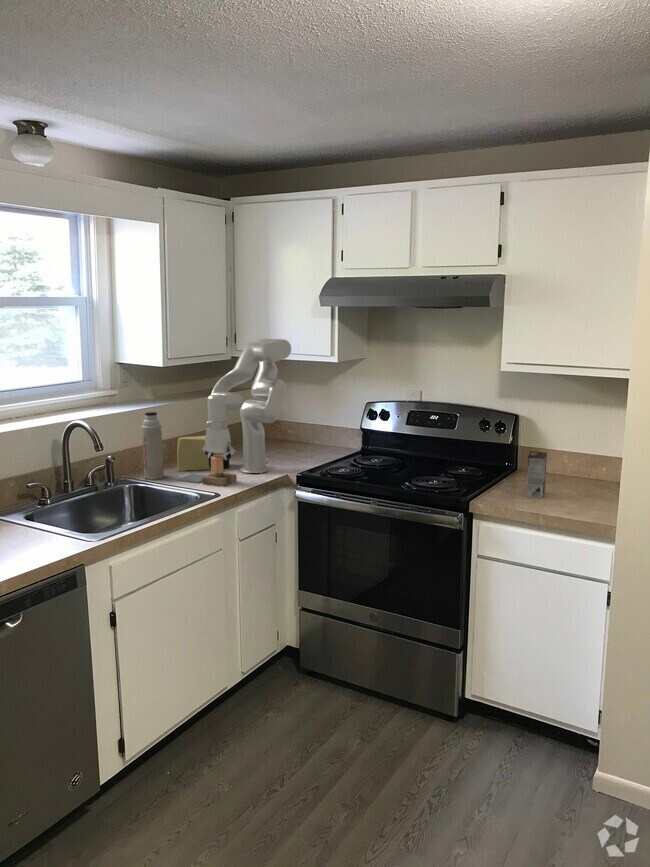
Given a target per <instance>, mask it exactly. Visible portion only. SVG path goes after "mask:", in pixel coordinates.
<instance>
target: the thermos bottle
mask: <svg viewBox="0 0 650 867" xmlns="http://www.w3.org/2000/svg"><path fill="white" fill-rule="evenodd" d="M144 415H145V416H144V418H145V419H144V420H143V422H142V425H141V436H142V456H143V472H144V473H143V474H144V475H143V477H144V479H145V478H147V479H146V480H159V478H160V479H163V478H164V475H165V473H164V460H163V437H162V436H163V435H162V425H161V424H160V423H161V422H160V419H158V413H157V412H156V411H148V412H145V413H144Z"/></svg>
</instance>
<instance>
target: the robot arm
mask: <svg viewBox="0 0 650 867" xmlns="http://www.w3.org/2000/svg"><path fill="white" fill-rule="evenodd" d="M291 352H292V345H291V343H290V342H289V341H288V340H287V339H283V338H263V339H262V338H261V339H258V340H257V341H256V342H255V341H254V342H253V341H252V342H248V343H247V344H245V346H244V347H243V350H242V352H241V353H240V356H239V357H238V359H237V361H236V364H235V366H234V367H233V368H232V369H231V370H230V371H229V372H228V373H226V374H225V375H223V376H222V377H221V378H220V379H219V380H218V381H217V382H216V384H214V387H213V389H212V391H211V394H210V395H208V397H207V418H208V419H207V421H206V425H207V426H208V427H206V431H205V436H206V437H205V445H204V446H203V447H202V449H203V451H204V452H205V454H206V455H207V458H209V468H211V456H214V453H219V454H223V457H224V459H225V460H223V468H224V469H227V470H228V469H230V459H231V458H232V456H233V455H234V454H235V453H236V449H235V448H234V447H233V446H232V444H231V442H232V441H231V433H230V431H229V428H228V414H227V413H228V412H230V411H231V412H235V411H239V416H240V419H241V425H242V426H241V428H242V447H243V448H242V454H243V455H242V458H243V466H241V467H240V469H239V470H240V471H239V472H240V473H242V472H244V473H243V474H247V473H260V474H264V473H263V472H265V473H267V471H268V470H269V471H270V467H269V466H267V465H266V464H269V463H270V459H269V458H266V441H265V440H266V439H265V438H266V437H265V436H266V433H265V428H264V425H263V424H264V423H265V424H273V423H275V422H276V421H277V419H278V417H279V416H280V413H281V410H282V408H283V405H284V402H285V398H286V396H287V385H286V383H285V381H283V380H282V379H279V378H277V374H278V367H277V365H276V362H279V361H283V360H286V359H287V358H289V356H290V355H291ZM257 368H258V369H257ZM256 370H257V372H256ZM255 373H256V375H255V378H254V381H253V382H252V385H251V390H250V393H251V396H252V397H253V398H254V399H247V400H244V398H243V396H242V395H241V394H240V393H237V392H230V390H231V389H232V388H234V387H236V386H239V385H241V384H244V383H246V382H248V381H251V379H252V378H253V376H254V374H255ZM262 423H263V424H262ZM226 455H227V456H226ZM269 471H268V472H269Z"/></svg>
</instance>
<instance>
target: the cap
mask: <svg viewBox="0 0 650 867" xmlns="http://www.w3.org/2000/svg"><path fill="white" fill-rule="evenodd" d="M223 460H225V459H224V457H223V455H215V456H211V470H210V471H211V472H212V473H228V469H224V468H223Z"/></svg>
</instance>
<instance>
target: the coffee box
mask: <svg viewBox="0 0 650 867" xmlns="http://www.w3.org/2000/svg"><path fill="white" fill-rule="evenodd" d="M527 457H528V458H527V476H526V477H527V478H526V482H527V483H526V497H527V498H533V499H543V498H544V496H545V493H546V482H547V480H546V479H547V457H548V452H546V451H545V452H542V451H535V450H534V451H530V452H529V454H528V455H527Z"/></svg>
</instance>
